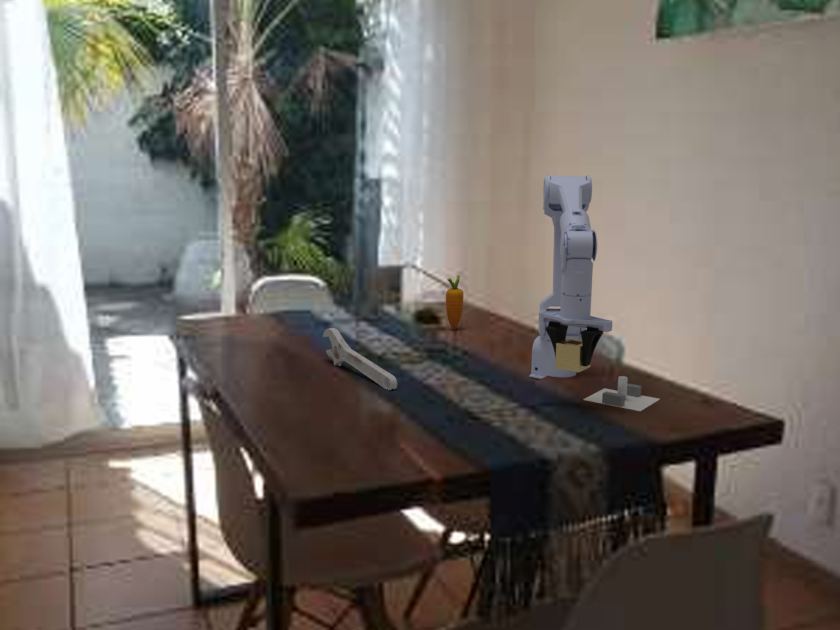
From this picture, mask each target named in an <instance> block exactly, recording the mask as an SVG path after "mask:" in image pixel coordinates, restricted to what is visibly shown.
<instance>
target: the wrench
mask: <svg viewBox="0 0 840 630" xmlns="http://www.w3.org/2000/svg"><path fill="white" fill-rule="evenodd" d="M322 337H323V338H326V337H327V338H329V341H330V343H331V348H330V349H329V348H328V349H326V350H325V351H326V354H327V356H328V357H329V359H331V360H332V361H333V366H338V367H341V366H342V363H343V362H346V363H347V364H348V365H350V366H352V367H353V368H355V369H356V370H357V371H359V372H360V373H361V374H362V375H364V376H366V377H368V378H369V379H370V380H371V381H374V383H376V384H377V385H379V386H380V387H382V388H383V389H385V390H387V389H388V390H387V391H392V389H393V390H396V389H397V388H398V380H397V378H396V377H395V376H394V375H393V374H391V373H390V372H389V371H386V369H384V368H382V367H380V366H379V365H377V364H376V363H374V362H373V361H371V360H369V358H366V357H365V356H363V355H362V354H360V353H358V352H357V351H355V350H353V349H352V348H351V347H350V345H348V343H347V342H346V341H345V339H344V338H343V336H342V334H341V332H340V331H339V330H338V329H337V328H336V327H331V328H326V329H325V330H324V331H323V334H322Z"/></svg>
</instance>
